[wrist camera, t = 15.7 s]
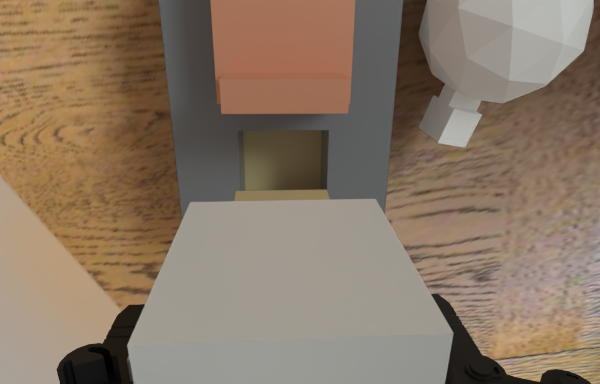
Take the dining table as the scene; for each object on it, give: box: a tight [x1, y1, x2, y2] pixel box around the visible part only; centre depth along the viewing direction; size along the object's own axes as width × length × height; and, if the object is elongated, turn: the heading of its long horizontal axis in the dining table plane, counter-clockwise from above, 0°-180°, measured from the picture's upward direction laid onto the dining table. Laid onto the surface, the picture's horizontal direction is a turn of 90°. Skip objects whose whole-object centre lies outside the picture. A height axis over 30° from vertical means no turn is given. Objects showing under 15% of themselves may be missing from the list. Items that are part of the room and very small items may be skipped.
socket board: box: [159, 0, 403, 220], centre depth 28 cm, size 18×13×5 cm
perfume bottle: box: [418, 0, 594, 148], centre depth 25 cm, size 9×9×12 cm
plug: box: [127, 190, 453, 384], centre depth 15 cm, size 6×6×11 cm
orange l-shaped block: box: [210, 0, 355, 114], centre depth 21 cm, size 7×7×4 cm
